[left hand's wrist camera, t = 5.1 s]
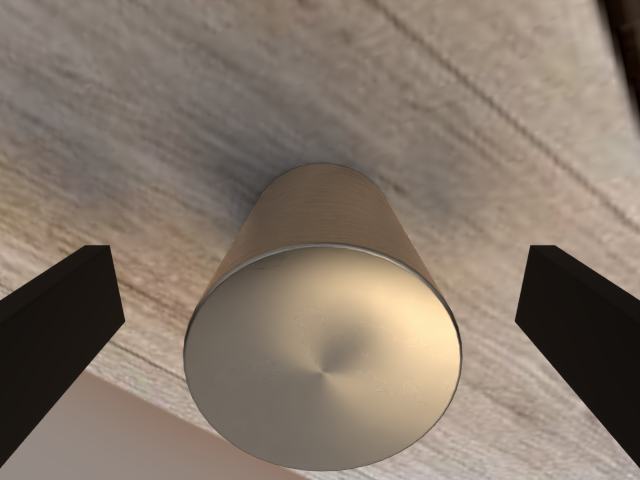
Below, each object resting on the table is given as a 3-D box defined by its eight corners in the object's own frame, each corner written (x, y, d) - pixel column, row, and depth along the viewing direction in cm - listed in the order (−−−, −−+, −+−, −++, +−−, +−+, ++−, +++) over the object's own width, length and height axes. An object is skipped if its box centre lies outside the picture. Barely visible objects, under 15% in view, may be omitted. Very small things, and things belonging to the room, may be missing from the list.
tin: (412, 272, 17) (492, 432, 9) (284, 315, 18) (254, 498, 10) (366, 139, 15) (417, 195, 7) (225, 195, 16) (126, 304, 8)
